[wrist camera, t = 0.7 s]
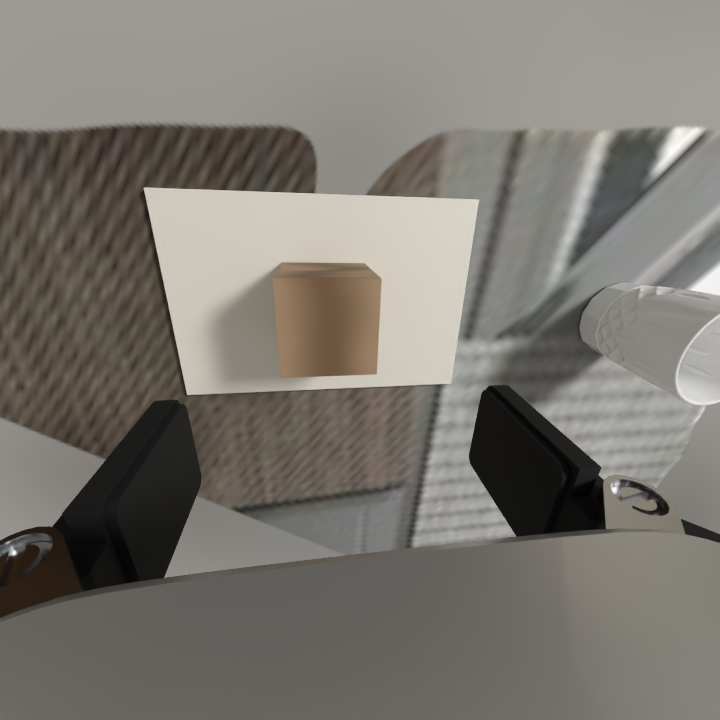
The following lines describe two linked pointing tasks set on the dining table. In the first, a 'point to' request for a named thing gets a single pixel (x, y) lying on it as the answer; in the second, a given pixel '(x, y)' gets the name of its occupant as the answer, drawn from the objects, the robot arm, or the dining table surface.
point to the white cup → (659, 337)
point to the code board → (308, 245)
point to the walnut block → (327, 319)
